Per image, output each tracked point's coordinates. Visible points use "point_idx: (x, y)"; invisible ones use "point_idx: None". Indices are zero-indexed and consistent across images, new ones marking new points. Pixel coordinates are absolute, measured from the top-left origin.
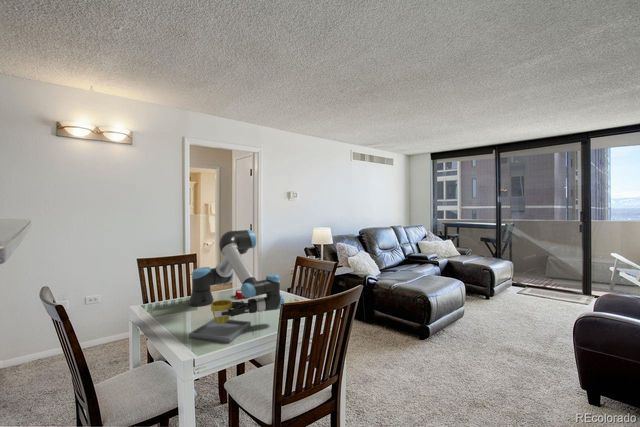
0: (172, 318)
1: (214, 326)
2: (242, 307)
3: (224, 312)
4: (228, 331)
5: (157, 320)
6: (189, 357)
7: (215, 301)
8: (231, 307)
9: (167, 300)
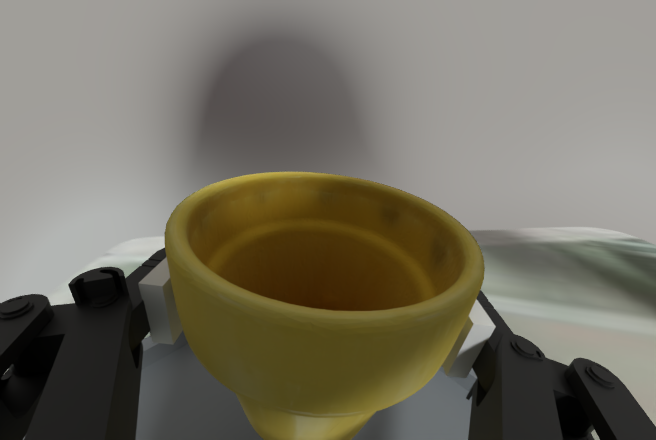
0: (542, 271)
1: None
2: None
3: (152, 262)
4: None
5: (510, 244)
6: (130, 248)
7: (417, 199)
8: (213, 361)
9: None
